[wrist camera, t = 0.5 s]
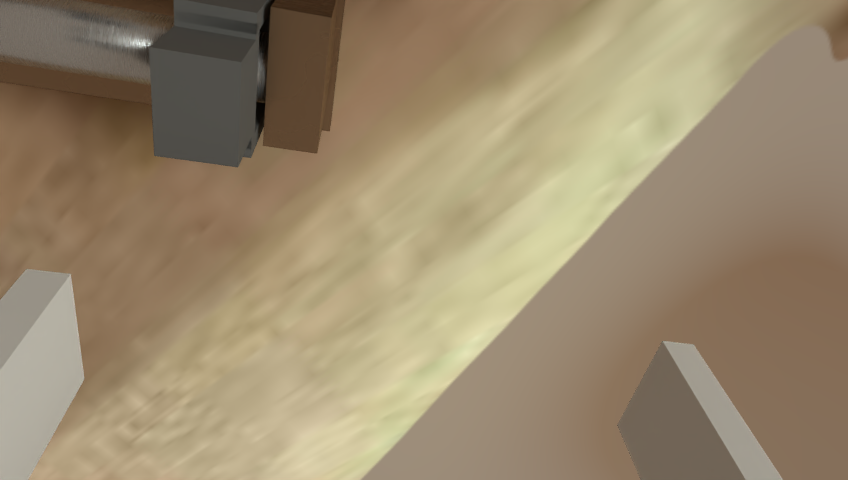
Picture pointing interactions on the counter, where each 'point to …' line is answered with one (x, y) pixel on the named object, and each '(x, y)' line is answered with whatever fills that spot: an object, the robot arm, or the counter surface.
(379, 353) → the counter surface
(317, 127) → the pipe rig
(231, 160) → the collar
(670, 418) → the robot arm
